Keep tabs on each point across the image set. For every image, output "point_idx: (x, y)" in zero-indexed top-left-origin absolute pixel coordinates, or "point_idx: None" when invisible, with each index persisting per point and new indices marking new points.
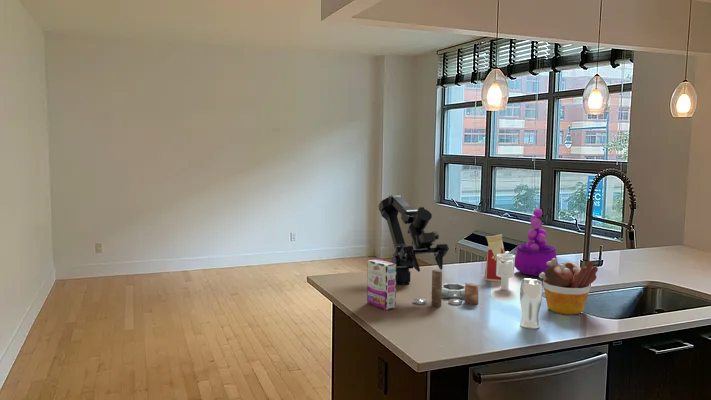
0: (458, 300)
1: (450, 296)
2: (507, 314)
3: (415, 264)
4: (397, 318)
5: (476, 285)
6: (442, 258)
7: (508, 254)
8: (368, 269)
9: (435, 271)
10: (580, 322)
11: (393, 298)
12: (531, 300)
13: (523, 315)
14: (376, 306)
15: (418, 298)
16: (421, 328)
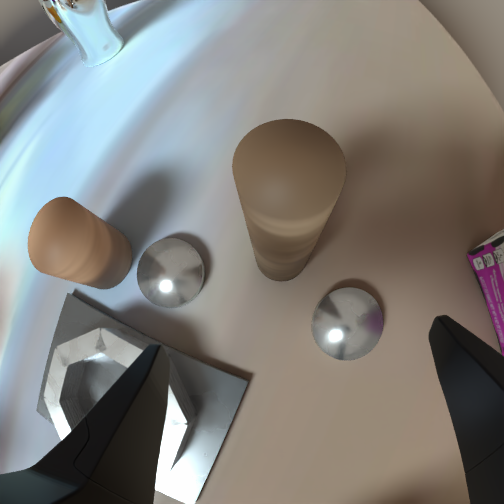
0: (151, 271)
1: None
2: (82, 119)
3: (497, 360)
4: (462, 147)
5: (45, 213)
6: (70, 435)
7: None
8: None
9: (317, 143)
10: (14, 84)
11: (499, 235)
12: None
13: (110, 25)
14: None
15: (346, 355)
16: (396, 62)
